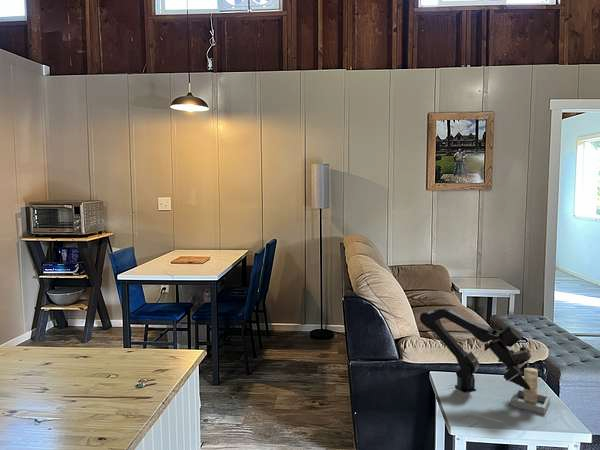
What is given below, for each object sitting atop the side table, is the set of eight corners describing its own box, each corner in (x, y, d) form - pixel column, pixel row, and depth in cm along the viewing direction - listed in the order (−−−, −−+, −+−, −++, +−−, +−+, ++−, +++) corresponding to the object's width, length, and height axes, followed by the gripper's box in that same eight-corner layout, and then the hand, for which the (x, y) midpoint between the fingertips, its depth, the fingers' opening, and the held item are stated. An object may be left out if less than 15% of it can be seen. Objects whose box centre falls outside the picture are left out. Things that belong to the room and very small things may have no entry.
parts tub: (510, 405, 180) (510, 399, 179) (517, 394, 189) (517, 389, 189) (544, 414, 172) (544, 407, 172) (549, 402, 182) (549, 396, 182)
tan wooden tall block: (529, 407, 178) (530, 373, 177) (520, 402, 182) (521, 368, 181) (539, 406, 179) (540, 371, 178) (531, 400, 184) (531, 367, 183)
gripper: (512, 348, 175) (544, 382, 169) (523, 336, 189) (552, 367, 183) (491, 364, 180) (520, 397, 174) (502, 350, 195) (530, 381, 189)
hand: (532, 385), depth 180 cm, fingers open, 9 cm apart
